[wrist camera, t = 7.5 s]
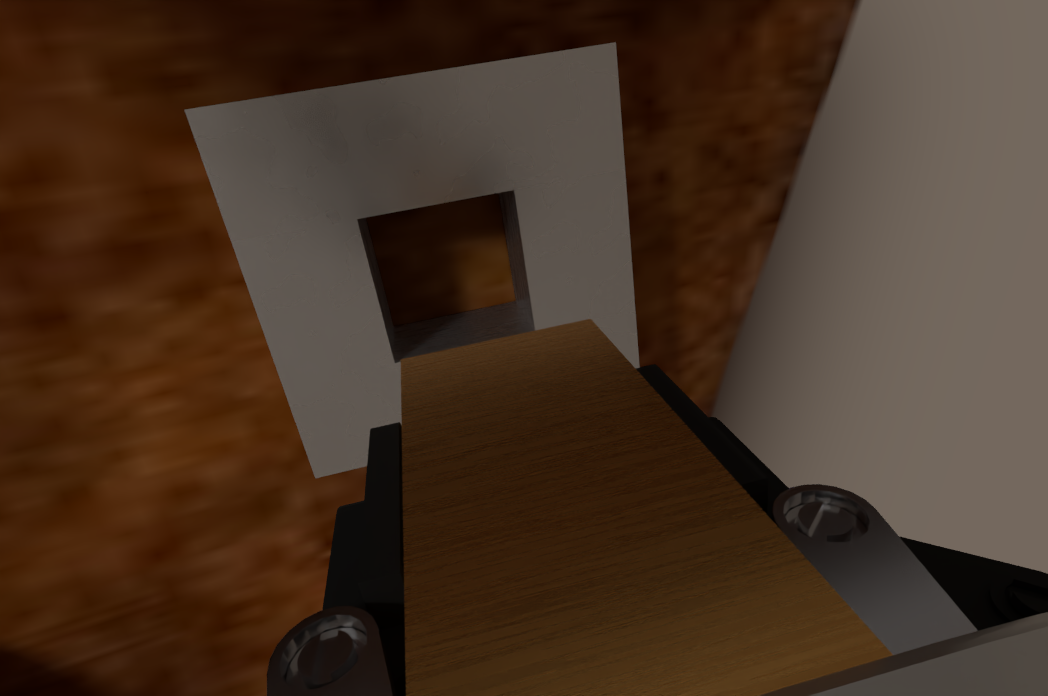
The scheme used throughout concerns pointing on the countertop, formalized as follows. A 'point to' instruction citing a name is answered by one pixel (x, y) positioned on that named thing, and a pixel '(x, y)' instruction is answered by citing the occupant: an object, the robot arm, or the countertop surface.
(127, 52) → the countertop surface
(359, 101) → the white flat block
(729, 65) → the countertop surface
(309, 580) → the countertop surface
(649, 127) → the countertop surface
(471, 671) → the wooden block
